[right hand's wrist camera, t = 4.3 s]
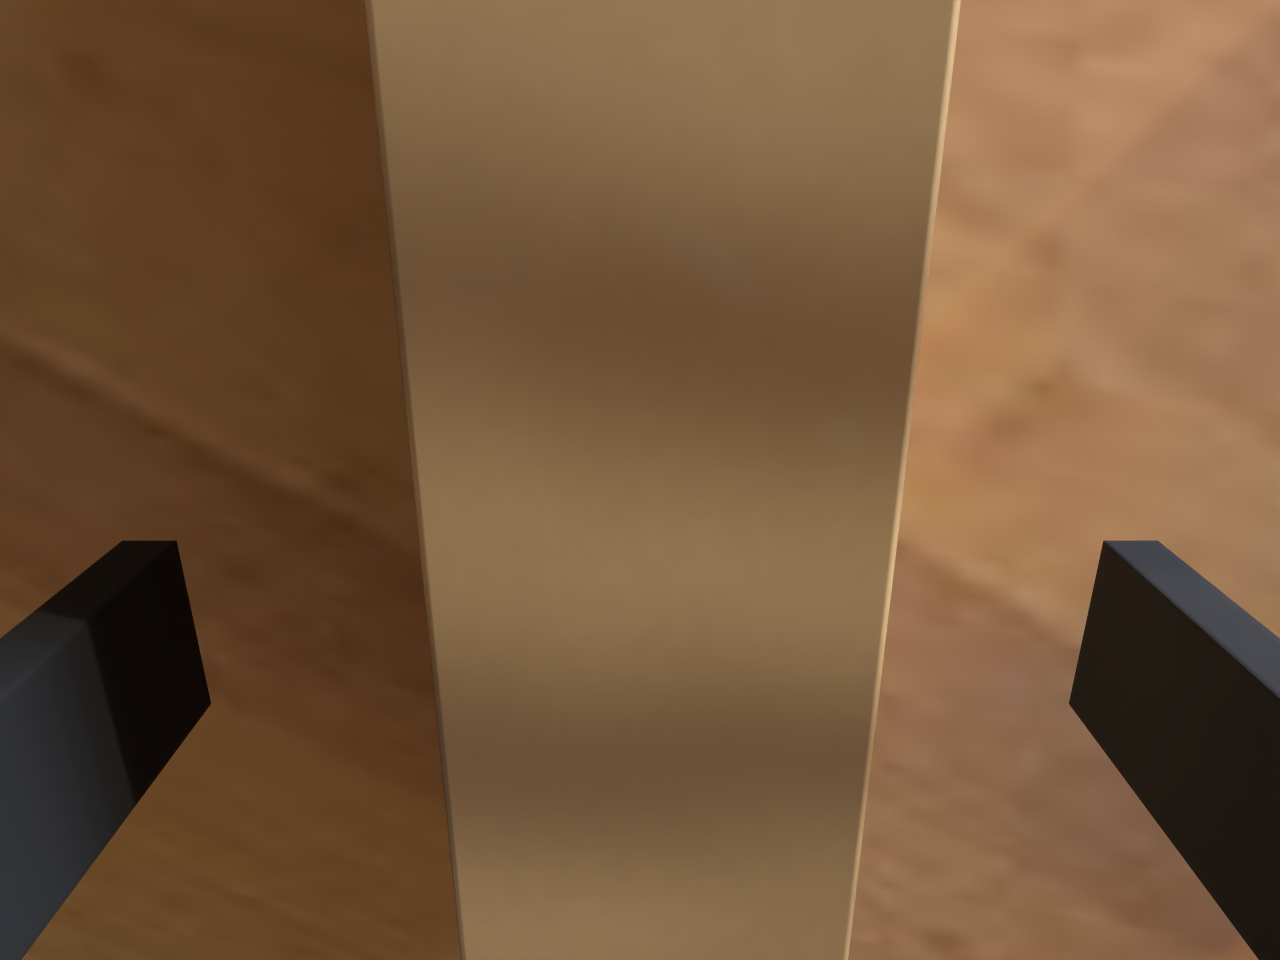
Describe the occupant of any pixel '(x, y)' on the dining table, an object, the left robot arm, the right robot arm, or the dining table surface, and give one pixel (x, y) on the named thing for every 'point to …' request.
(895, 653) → the dining table surface
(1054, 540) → the dining table surface
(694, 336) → the post
